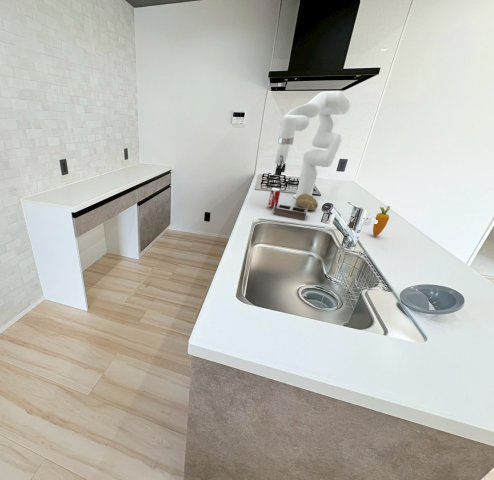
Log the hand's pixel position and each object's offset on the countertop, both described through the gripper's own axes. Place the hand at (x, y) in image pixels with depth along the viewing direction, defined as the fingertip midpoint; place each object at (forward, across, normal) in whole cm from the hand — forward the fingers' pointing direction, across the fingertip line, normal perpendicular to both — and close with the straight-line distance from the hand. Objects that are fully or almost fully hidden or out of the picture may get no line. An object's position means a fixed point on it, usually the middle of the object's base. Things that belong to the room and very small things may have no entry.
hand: (279, 173), depth 146 cm
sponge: (+21, -14, +17) cm, 30 cm away
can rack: (+21, +7, +11) cm, 24 cm away
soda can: (+21, +1, 0) cm, 21 cm away
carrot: (+21, +15, +50) cm, 56 cm away
